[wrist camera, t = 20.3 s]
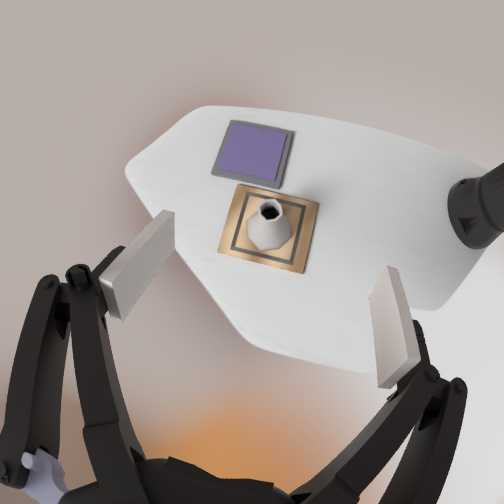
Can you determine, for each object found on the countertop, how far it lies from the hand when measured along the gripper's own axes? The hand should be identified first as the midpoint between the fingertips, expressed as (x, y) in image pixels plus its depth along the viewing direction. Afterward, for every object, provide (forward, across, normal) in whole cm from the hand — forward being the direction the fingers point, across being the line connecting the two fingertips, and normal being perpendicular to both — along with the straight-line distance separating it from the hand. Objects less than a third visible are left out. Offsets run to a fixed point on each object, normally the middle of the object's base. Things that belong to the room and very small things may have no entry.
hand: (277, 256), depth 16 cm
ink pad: (+35, -8, -4) cm, 36 cm away
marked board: (+26, -2, -13) cm, 29 cm away
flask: (+25, -2, -13) cm, 29 cm away
